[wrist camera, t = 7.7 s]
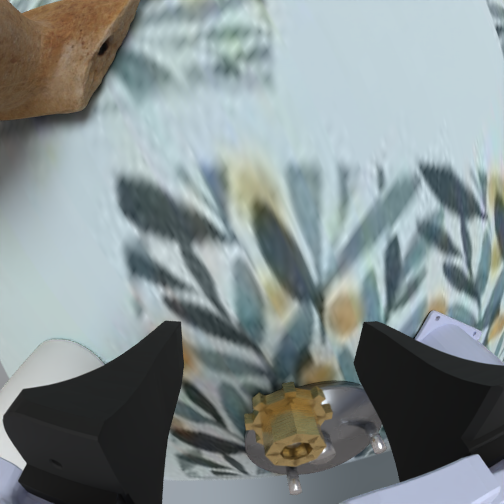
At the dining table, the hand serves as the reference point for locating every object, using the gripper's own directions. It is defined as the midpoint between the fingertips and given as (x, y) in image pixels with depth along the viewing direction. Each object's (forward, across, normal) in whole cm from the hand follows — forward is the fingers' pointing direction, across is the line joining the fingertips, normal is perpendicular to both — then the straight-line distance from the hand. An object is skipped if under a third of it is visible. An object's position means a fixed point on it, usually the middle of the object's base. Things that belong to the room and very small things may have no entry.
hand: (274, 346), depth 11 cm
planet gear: (+9, -4, +13) cm, 16 cm away
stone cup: (+10, +17, -15) cm, 25 cm away
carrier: (+10, -7, +17) cm, 21 cm away
